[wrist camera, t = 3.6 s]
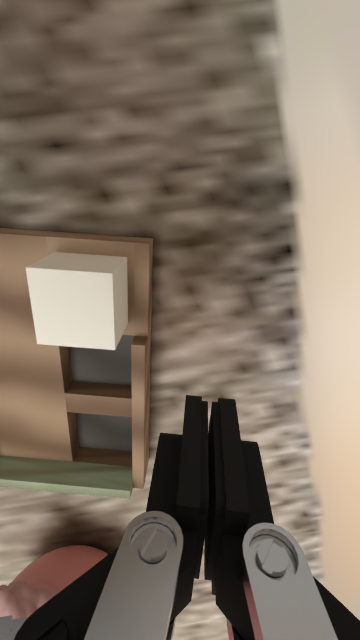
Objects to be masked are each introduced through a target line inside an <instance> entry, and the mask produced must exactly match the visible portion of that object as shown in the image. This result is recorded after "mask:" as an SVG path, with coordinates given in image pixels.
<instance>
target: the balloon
mask: <svg viewBox="0 0 360 640" xmlns="http://www.w3.org/2000/svg"><path fill="white" fill-rule="evenodd" d="M107 555H108V554H107V553H105V552H104V551H102V550H100V549H97V548H94V547H91V546H85V545H71V546H65V547H61V548H58V549H55V550H53V551H50V552H48V553H46V554H44V555H43V556H41V557H39V558H38V559H36V560H35V561H34V562H32V563H31V564H30V565H28V566H27V567H26V568H25V569H24V570H23V571H22V572H21V573H20V574H19V575H18V576H17V577H16V578H15V579H14V580H13V582H11V583H10V584H9V585H8V586H6V585H1V586H0V617H4V616H10V615H13V618H14V619H17V618H23V617H29V616H30V615H31V614H32V613H34V612H35V611H36V610H37V609H38V608H39V607H41V606H42V605H43V604H45V603H46V602H47V601H49V600H50V599H51V598H52V597H54V596H55V595H56V594H58V593H59V592H60V591H62V590H63V589H64V588H65V587H67V586H68V585H69V584H71V583H72V582H73V581H75V580H76V579H77V578H79V577H80V576H81V575H82V574H84V573H85V572H86V571H88V570H89V569H90V568H92V567H93V566H94V565H95V564H97V563H98V562H99V561H101V560H102V559H103V558H105V557H106V556H107Z"/></svg>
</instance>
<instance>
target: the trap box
mask: <svg viewBox="0 0 360 640" xmlns="http://www.w3.org/2000/svg"><path fill="white" fill-rule="evenodd" d="M54 252H63V253H77V254H91V255H106V256H120V257H127V283H128V324H127V327H126V329H125V331H124V333H123V335H122V337H121V339H120V341H119V343H118V345H117V347H116V349H115V350H106V349H93V348H80V347H67V346H55V345H42V344H37V340H36V333H35V327H34V320H33V314H32V307H31V301H30V294H29V287H28V281H27V274H26V268H25V267H27V266H29V265H31V264H33V263H35V262H37V261H38V260H40V259H42V258H44V257H46V256H48V255H50V254H52V253H54ZM152 277H153V238H142V237H128V236H113V235H98V234H83V233H68V232H54V231H39V230H24V229H9V228H0V487H7V488H18V489H29V490H40V491H51V492H62V493H73V494H84V495H95V496H106V497H117V498H128V499H130V497H131V493H132V488H144V483H145V477H146V471H147V466H148V460H149V426H150V376H151V327H152Z"/></svg>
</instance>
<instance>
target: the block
mask: <svg viewBox="0 0 360 640" xmlns="http://www.w3.org/2000/svg"><path fill="white" fill-rule="evenodd" d="M25 268H26V274H27V281H28V287H29V294H30V301H31V307H32V314H33V320H34V327H35V333H36V340H37V344H42V345H55V346H67V347H80V348H93V349H106V350H115V349H116V347H117V345H118V343H119V341H120V339H121V337H122V335H123V333H124V331H125V329H126V327H127V324H128V283H127V257H120V256H106V255H91V254H77V253H63V252H54V253H52V254H50V255H48V256H46V257H44V258H42V259H40V260H38V261H37V262H35V263H33V264H31V265H29V266H27V267H25Z"/></svg>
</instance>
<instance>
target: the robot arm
mask: <svg viewBox="0 0 360 640" xmlns="http://www.w3.org/2000/svg"><path fill="white" fill-rule="evenodd" d="M204 538H205V556H204V573H205V580H212V594H213V595H216V605H217V606H218V607H219V609H220V610H221V611H222V612H223V614H224V615H225V616H226V618H227V629H228V635H229V640H360V620H358V619H357V618H356V617H355V616H354V615H353V614H352V613H351V612H350V611H349V610H348V609H347V608H346V607H345V606H344V605H343V604H342V603H341V602H340V601H338V600H337V599H336V598H335V597H334V596H333V595H332V594H331V593H330V592H329V591H328V590H327V589H326V588H325V587H324V586H323V585H322V584H321V583H320V582H319V581H317V580H316V579H315V578H314V577H313V576H312V573H311V571H310V568H309V566H308V563H307V561H306V558H305V556H304V553H303V551H302V549H301V547H300V545H299V543H298V542H297V541H296V539H295V538H294V537H293V536H292V535H291V534H290V533H289V532H288V531H286V530H285V529H283V528H282V527H280V526H277V525H275V524H274V521H273V516H272V511H271V506H270V501H269V496H268V491H267V486H266V481H265V476H264V471H263V466H262V461H261V456H260V451H259V447H258V444H257V442H250V441H241V438H240V431H239V424H238V416H237V409H236V402H235V400H234V399H223V398H219V399H218V402H212V408H211V416H210V424H209V432H208V402H207V401H202V397H201V396H190V395H186V402H185V413H184V425H183V435H178V434H168V433H160V436H159V441H158V446H157V452H156V458H155V463H154V469H153V475H152V480H151V486H150V492H149V497H148V503H147V508H146V512H144V513H142V514H140V515H139V516H137V517H135V518H134V519H133V520H132V521H131V522H130V523H129V525H128V527H127V529H126V531H125V533H124V535H123V538H122V541H121V543H120V546H119V547H118V548H116V549H115V550H114V551H112V552H111V553H110V554H108V555H107V556H106V557H105V558H103V559H102V560H101V561H99V562H98V563H97V564H95V565H94V566H93V567H92V568H90V569H89V570H88V571H86V572H85V573H84V574H82V575H81V576H80V577H79V578H77V579H76V580H75V581H73V582H72V583H71V584H69V585H68V586H67V587H65V588H64V589H63V590H62V591H60V592H59V593H58V594H56V595H55V596H54V597H52V598H51V599H50V600H49V601H47V602H46V603H45V604H43V605H42V606H41V607H39V608H38V609H37V610H36V611H35V612H34V613H32V614H31V615H30V616H29V617H23V618H17V619H14V618H13V615H10V616H4V617H0V640H172V637H173V632H174V627H175V621H176V616H177V615H178V614H179V613H180V612H181V611H182V610H183V609H184V608H185V607H186V606H187V605H188V604H189V602H190V601H191V597H192V589H193V582H194V578H196V579H199V574H200V567H201V559H202V552H203V545H204Z"/></svg>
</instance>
